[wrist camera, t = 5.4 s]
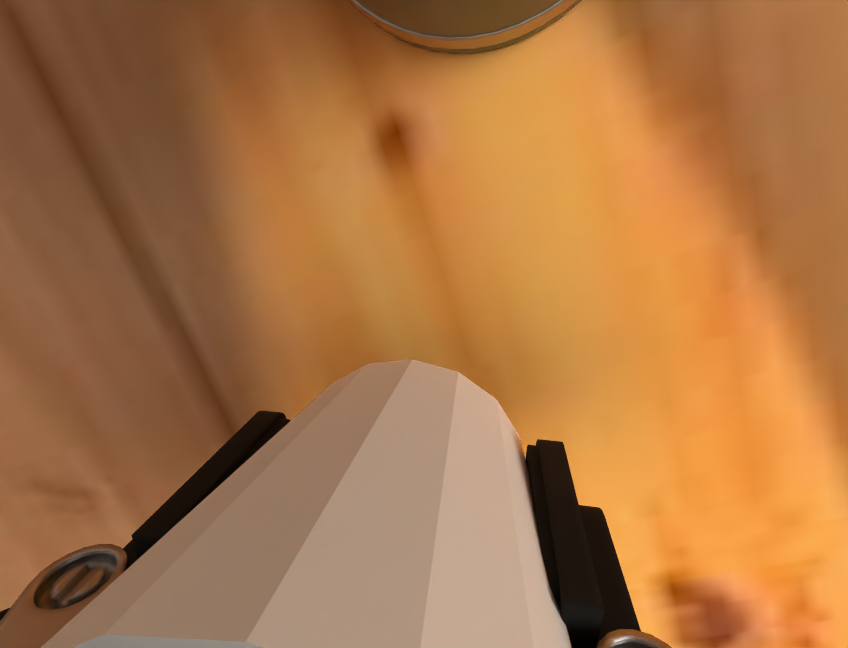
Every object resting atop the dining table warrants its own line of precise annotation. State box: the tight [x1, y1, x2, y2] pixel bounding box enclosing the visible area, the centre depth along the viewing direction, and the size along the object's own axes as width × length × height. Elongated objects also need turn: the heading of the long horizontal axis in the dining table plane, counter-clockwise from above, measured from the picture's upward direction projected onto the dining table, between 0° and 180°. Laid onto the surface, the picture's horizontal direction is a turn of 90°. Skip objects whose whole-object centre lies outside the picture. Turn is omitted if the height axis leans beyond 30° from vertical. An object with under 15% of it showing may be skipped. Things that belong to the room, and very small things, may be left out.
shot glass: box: [41, 359, 572, 648], centre depth 8 cm, size 7×7×7 cm
